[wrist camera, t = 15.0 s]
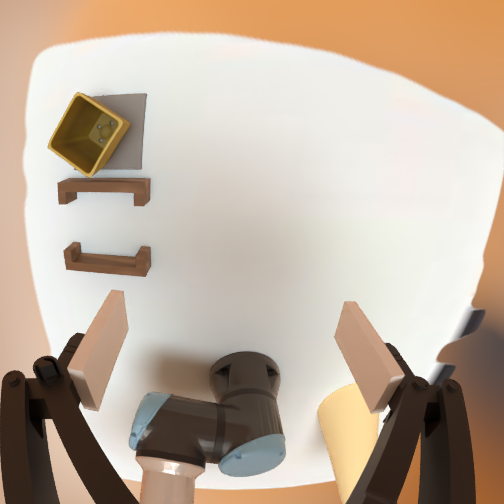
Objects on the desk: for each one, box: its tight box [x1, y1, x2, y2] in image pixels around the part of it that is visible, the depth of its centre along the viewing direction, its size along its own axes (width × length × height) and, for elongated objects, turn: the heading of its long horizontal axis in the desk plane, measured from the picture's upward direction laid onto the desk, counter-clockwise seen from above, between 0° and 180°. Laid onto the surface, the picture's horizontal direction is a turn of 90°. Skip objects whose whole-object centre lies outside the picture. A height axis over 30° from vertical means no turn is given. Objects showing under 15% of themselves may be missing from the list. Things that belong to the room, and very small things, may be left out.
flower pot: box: [48, 92, 130, 178], centre depth 35 cm, size 9×9×9 cm
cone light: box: [317, 383, 379, 504], centre depth 54 cm, size 25×18×35 cm
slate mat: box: [74, 93, 147, 170], centre depth 40 cm, size 12×12×1 cm
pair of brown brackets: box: [58, 178, 151, 277], centre depth 44 cm, size 15×15×4 cm
